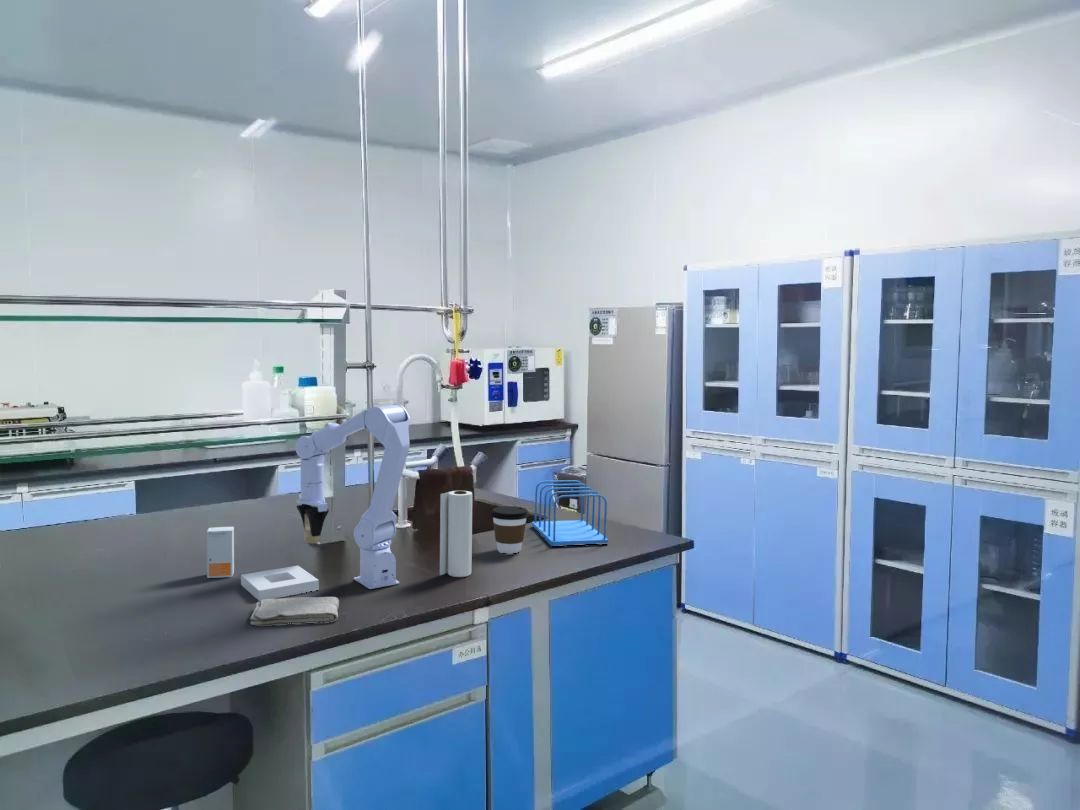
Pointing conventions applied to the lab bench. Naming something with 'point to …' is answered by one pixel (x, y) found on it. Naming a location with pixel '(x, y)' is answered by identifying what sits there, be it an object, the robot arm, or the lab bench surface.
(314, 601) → the washcloth
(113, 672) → the lab bench surface
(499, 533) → the coffee cup
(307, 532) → the birch peg
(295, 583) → the socket block
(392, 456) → the robot arm
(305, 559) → the lab bench surface
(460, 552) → the paper towel roll
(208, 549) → the skincare box
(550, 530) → the file sorter
